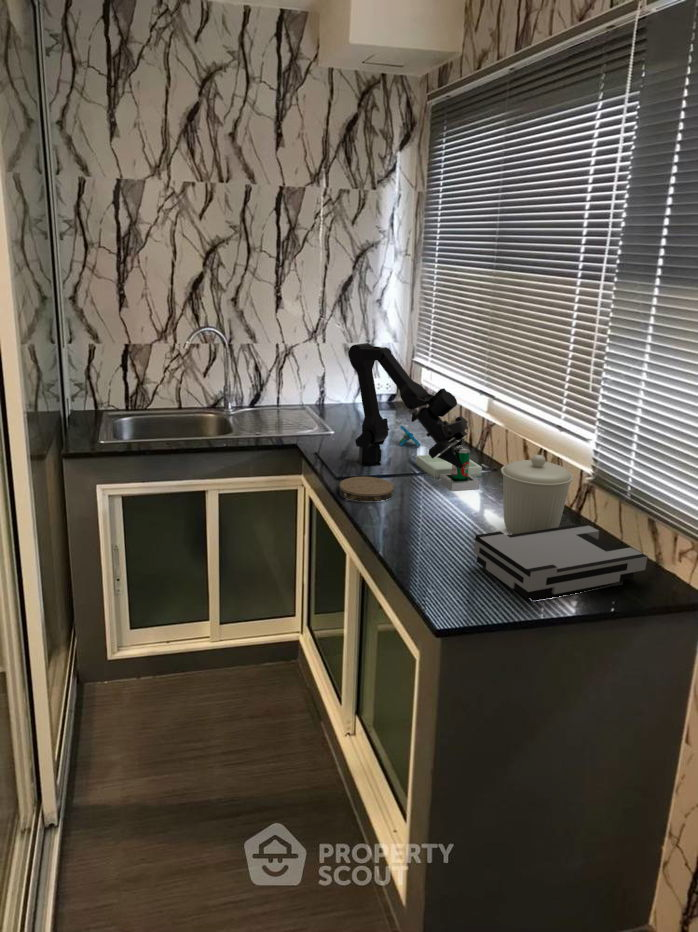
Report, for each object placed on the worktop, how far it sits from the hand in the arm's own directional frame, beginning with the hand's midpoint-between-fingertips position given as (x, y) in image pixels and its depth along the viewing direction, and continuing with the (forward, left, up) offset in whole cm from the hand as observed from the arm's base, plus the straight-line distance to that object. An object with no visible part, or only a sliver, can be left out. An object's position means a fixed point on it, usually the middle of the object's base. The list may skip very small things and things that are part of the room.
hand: (464, 465), depth 232 cm
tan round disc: (-31, -1, -7) cm, 32 cm away
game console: (-6, -62, -7) cm, 63 cm away
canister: (+1, -38, -7) cm, 39 cm away
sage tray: (+2, +16, -7) cm, 17 cm away
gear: (+1, +46, -7) cm, 47 cm away
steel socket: (-1, +1, -7) cm, 7 cm away
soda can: (-1, +1, -7) cm, 7 cm away
